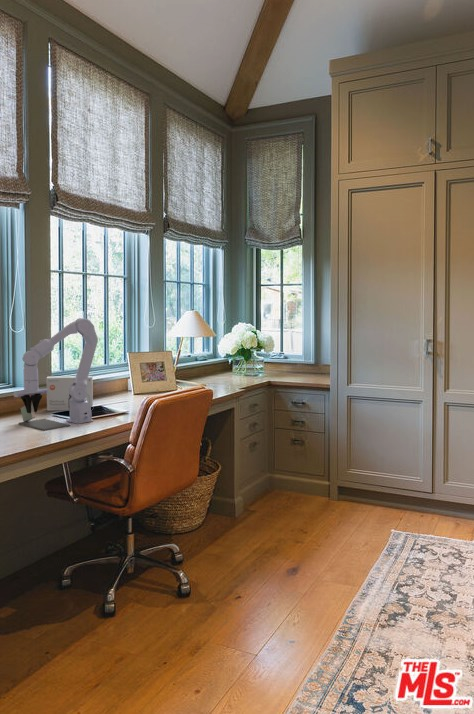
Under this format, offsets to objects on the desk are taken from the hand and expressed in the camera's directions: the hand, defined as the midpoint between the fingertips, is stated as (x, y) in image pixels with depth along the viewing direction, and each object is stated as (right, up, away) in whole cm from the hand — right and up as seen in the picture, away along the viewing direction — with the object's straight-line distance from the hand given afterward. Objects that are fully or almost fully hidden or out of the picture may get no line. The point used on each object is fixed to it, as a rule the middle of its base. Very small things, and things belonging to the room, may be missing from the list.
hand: (31, 412), depth 250 cm
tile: (-1, -3, +2) cm, 4 cm away
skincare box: (+6, -2, +37) cm, 37 cm away
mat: (+5, -5, -1) cm, 8 cm away
